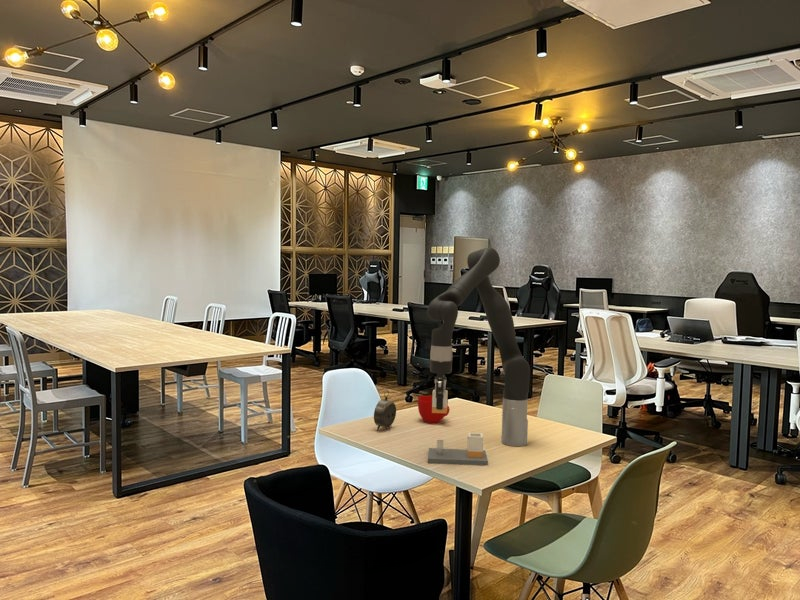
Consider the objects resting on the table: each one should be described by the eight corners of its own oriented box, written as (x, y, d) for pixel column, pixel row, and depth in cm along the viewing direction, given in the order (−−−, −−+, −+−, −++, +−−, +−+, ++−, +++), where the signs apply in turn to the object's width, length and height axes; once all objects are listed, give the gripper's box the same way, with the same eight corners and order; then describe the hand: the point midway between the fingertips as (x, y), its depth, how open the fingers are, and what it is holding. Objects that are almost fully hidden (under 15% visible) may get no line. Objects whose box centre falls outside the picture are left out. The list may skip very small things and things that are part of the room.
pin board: (485, 454, 208) (485, 430, 208) (487, 465, 196) (488, 440, 196) (428, 452, 209) (429, 428, 209) (427, 462, 197) (428, 437, 197)
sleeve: (432, 409, 206) (433, 389, 205) (447, 410, 205) (447, 390, 205) (431, 412, 201) (432, 392, 200) (446, 413, 200) (447, 393, 200)
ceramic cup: (436, 429, 240) (436, 405, 240) (411, 420, 254) (411, 397, 254) (459, 425, 248) (460, 401, 248) (434, 416, 262) (434, 394, 261)
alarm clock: (387, 425, 244) (387, 386, 244) (398, 427, 242) (399, 388, 241) (372, 431, 235) (373, 391, 234) (383, 433, 232) (384, 392, 232)
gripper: (431, 355, 210) (430, 402, 210) (429, 361, 195) (427, 411, 196) (452, 356, 209) (451, 403, 210) (451, 362, 195) (450, 413, 195)
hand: (439, 407), depth 203 cm, fingers closed on sleeve, 5 cm apart
